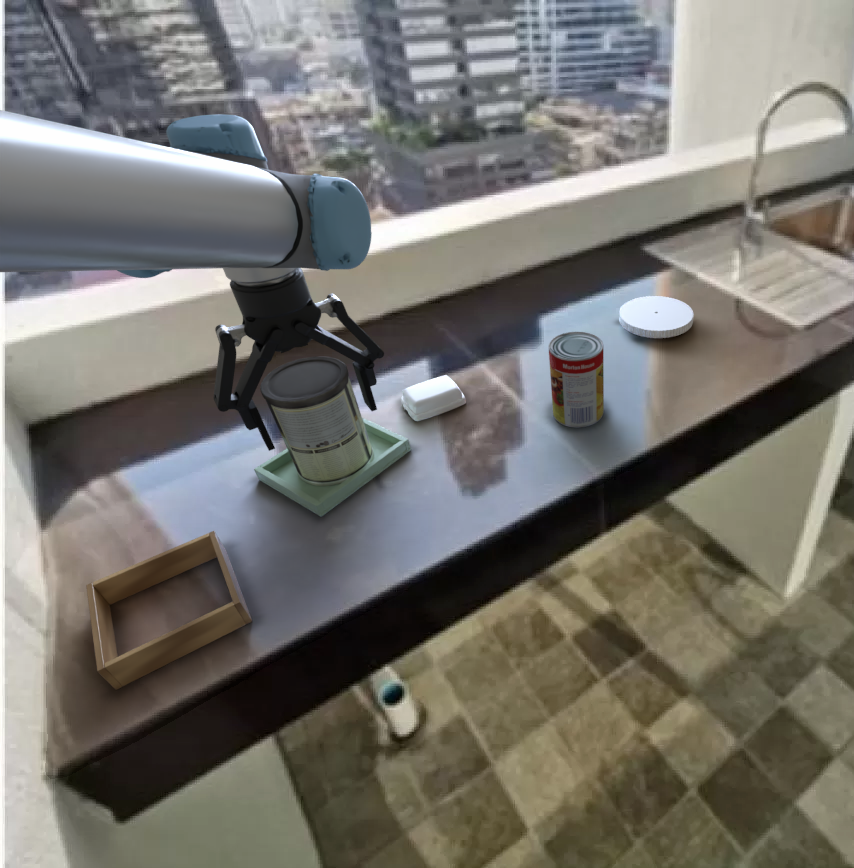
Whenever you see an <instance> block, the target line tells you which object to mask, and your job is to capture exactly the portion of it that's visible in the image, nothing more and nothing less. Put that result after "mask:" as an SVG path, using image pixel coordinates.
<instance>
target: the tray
mask: <svg viewBox="0 0 854 868" xmlns="http://www.w3.org/2000/svg"><path fill="white" fill-rule="evenodd" d="M362 419H363V422H364V425H365V428H366V431H367V434H368V438H369V441H370V444H371V446H372V448H373V451H374V457H373V460H372V462H370V463H369V464H367V465H366V466H365V467H363V468H362V469H360V470H359V471H358V472H356V473H355V474H354V475H352V476H351V477H349V478H348V479H347V480H345V481H344V482H342V483H341V484H336V485H332V486H315V485H311V484H308V483H306V482H304V481H303V480H302V479H301V478H300V477H299V475H298V473H297V469H296V467H295V465H294V463H293V460H292V458H291V456H290V453H289V451H288V449H287V448H285V449H284V450H281V452H279V453H277V454H276V455H273V456H272V457H271V458H270V459H267V460H266V461H265V462H263V463H262V464H260V465H258V466H256V467H254V469H253V471H254V473H255V475H256V477H257V479H258V480H259V481H260V482H262V483H263V484H265V485H267V486H269V487H270V488H272V489H273V490H275V491H277V492H279V493H280V494H281V495H283V496H285V497H287V498H288V499H290V500H292V501H293V502H295V503H297V504H299V505H300V506H302V507H303V508H305V509H307V510H309V511H310V512H312V513H314V514H315V515H317V516H319V517H320V518H322V517H324V516H325V515H326V514H328V513H329V512H330V511H332V510H333V509H334V508H336V507H337V506H338V505H340V504H341V503H342V502H344V501H345V500H346V499H348V498H349V497H350V496H352V495H353V494H354V493H356V492H357V491H358V490H360V489H362V487H364V486H365V485H366V484H368V483H370V482H371V481H372V480H373V479H374V478H376V477H377V476H379V475H380V474H382V473H383V472H384V471H385V470H386V469H388V468H389V467H391V466H392V465H393V464H394V463H396V462H397V461H398V460H400V459H401V458H402V457H404V456H405V455H406V454H408V453H409V452H410V451H412V447H411V446H412V445H411V443H410V439H409V438H407V437H405V436H403V435H400V434H398V433H396V432H394V431H392V430H391V429H389V428H385V427H383V426H381V425H379V424H377V423H375V422H373V421H371V420H369V419H366V418H365V417H362Z"/></svg>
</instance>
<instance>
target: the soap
mask: <svg viewBox="0 0 854 868" xmlns="http://www.w3.org/2000/svg"><path fill="white" fill-rule="evenodd" d="M401 394H402V396H401V398H400V401H401V404H402V407H403V409H404V410H406V412H407V413H408V415H409V416H410V418H411V419H412V420H414V421H415V422H420V421H424V420H428V419H430V418H433V417H436V416H439V415H442V414H445V413H447V412H449V411H452V410H454V409H457V408H459V407H461V406H464V405H465V404H466V403H467V400H466V397H465V395H464V393H463V391H462V390H461V388H460V387H459V386H458V384H457V383H456V382H455V381H454V380H453V379H452V378H451V377H450V376H448V375H447V374H445V375H444V374H443V375H441V376H438V377H434V378H431V379H428V380H425V381H422V382H419V383H416V384H414V385H411V386H408V387H406V388H404V389H402V392H401Z"/></svg>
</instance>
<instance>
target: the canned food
mask: <svg viewBox="0 0 854 868" xmlns="http://www.w3.org/2000/svg"><path fill="white" fill-rule="evenodd" d="M548 360H549V371H550V372H549V374H550V389H551V390H550V391H551V402H552V415H553V418H554V419H555V421H557V422H558V423H559V424H560V425H563V426H565V427H570V428H576V429H577V428H579V429H580V428H585V427H591V426H593V425H595V424H596V423H598V422H599V421H600V420H601V419H602V417H603V416H604V412H605V411H604V409H605V408H604V407H605V405H604V394H605V393H604V391H605V389H604V379H605V377H604V373H605V372H604V342H603V340H602V339H601V338H600V337H599V336H597V335H595V334H593V333H591V332H586V331H568V332H563V333H561V334H558V335H556V336H554V337H553V338H552V339H551V340H550V341H549V343H548Z"/></svg>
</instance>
